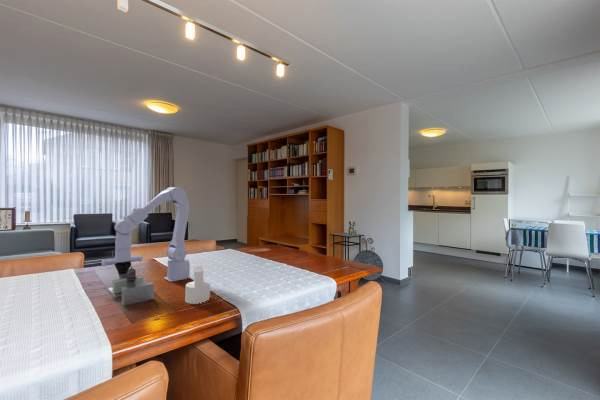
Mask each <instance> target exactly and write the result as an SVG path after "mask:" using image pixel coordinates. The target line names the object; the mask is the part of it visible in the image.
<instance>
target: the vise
mask: <svg viewBox="0 0 600 400" xmlns="http://www.w3.org/2000/svg"><path fill="white" fill-rule="evenodd" d="M112 291H113V287H108V288H107V292H109V293H110V294H111V296H113V297H114V298H119V297H120V298H121V301H120V303H121V305H122V306H124V307H125V306H130V305H134V304H138V303H142V302H147V301H150V300H154V297H155V284H154V283H153V282H152V281H150V282H145V283H144V282H143V284H138V285H133V286H128V287H122V292H120V293H113V292H112Z"/></svg>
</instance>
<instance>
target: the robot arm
mask: <svg viewBox="0 0 600 400" xmlns="http://www.w3.org/2000/svg"><path fill="white" fill-rule="evenodd" d="M187 194H188V193H187V191H185V190H184V189H183V188H182V187H180V186H175V187H173V186H169V187H167V188H166V189H165V190H164V189H163V190H162V191H161V192H160V193H158V194H157V195H156V196H155V197H154V198H152V199H151V200H150V201H148V202H147V203H146V204H145V205H143V207H142V206H141V207H140V206H139V207H137V208H136V207H135V208H134V207H133V208H132V211H131V212H130V213H128V214H127V215H126V216H123V217H122V218H123V219H119V220H118V221H116V223H115V224H114V230H115V239H114V240H115V243H114V244H115V246H114V255H115V256H114V258H108V259H103V260H101V266H103V267H106V266H111V265H114V267H115V269H116V271H117V274H118V277H119V279H120V274H126V273H127V271H128V270H129V269H131V267H132V263H134V262H143V256H142V255H138V256H132V238H133V237H132V233H133V231H134V229H135V227H137V226H138V225H139V224H141V223H142V222H143V221H145V219H147V218H148V217H149V213H150V212H152V211H153V210H154V209H155V208H158V206H160V205H161V204H163V203H164V202H172V203H173V204H174V205H175V206H176V207H177V209H176V214H175V222H174V227H173V234H172V237H171V238H172V239H171V240H170V243H169V245H168V247H167V248H166V251H165V253H166V256H167V257H168V259H167V273H166V274H167V276H164V277H163V279H164V280H167V281H168V282H171V283H173V282H176V281H177V282H178V281H181V280H187V278H188V279H191V276H190V274H191V273H190V270H191V264H190V260H189V259H188V258H186V257H187V251H186V248H187V246H186V243H185V236H186V230H187V225H188V219H189V213H190V212H189V211H190V206H191V205H190V201H189V199H188V196H187Z"/></svg>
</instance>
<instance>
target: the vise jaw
mask: <svg viewBox="0 0 600 400" xmlns="http://www.w3.org/2000/svg"><path fill="white" fill-rule="evenodd" d="M135 277H136V282H135V283H136V285H138V284H144V277H143V276H142V275H135ZM126 278H127V273H126V274H120V278H119V279H113V280H112V288H113V291H112V292H113V293H120V292H122V287H126V283H127V280H126Z"/></svg>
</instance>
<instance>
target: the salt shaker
mask: <svg viewBox="0 0 600 400" xmlns="http://www.w3.org/2000/svg"><path fill="white" fill-rule="evenodd" d="M136 272H137V271H136V269H134V268H133V266H130V268H129V270H128V271H127V278H126V280H127V283H126V287H128V286H133V285H136V283H135V282H136V277H135V276H137V275H136Z"/></svg>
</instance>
